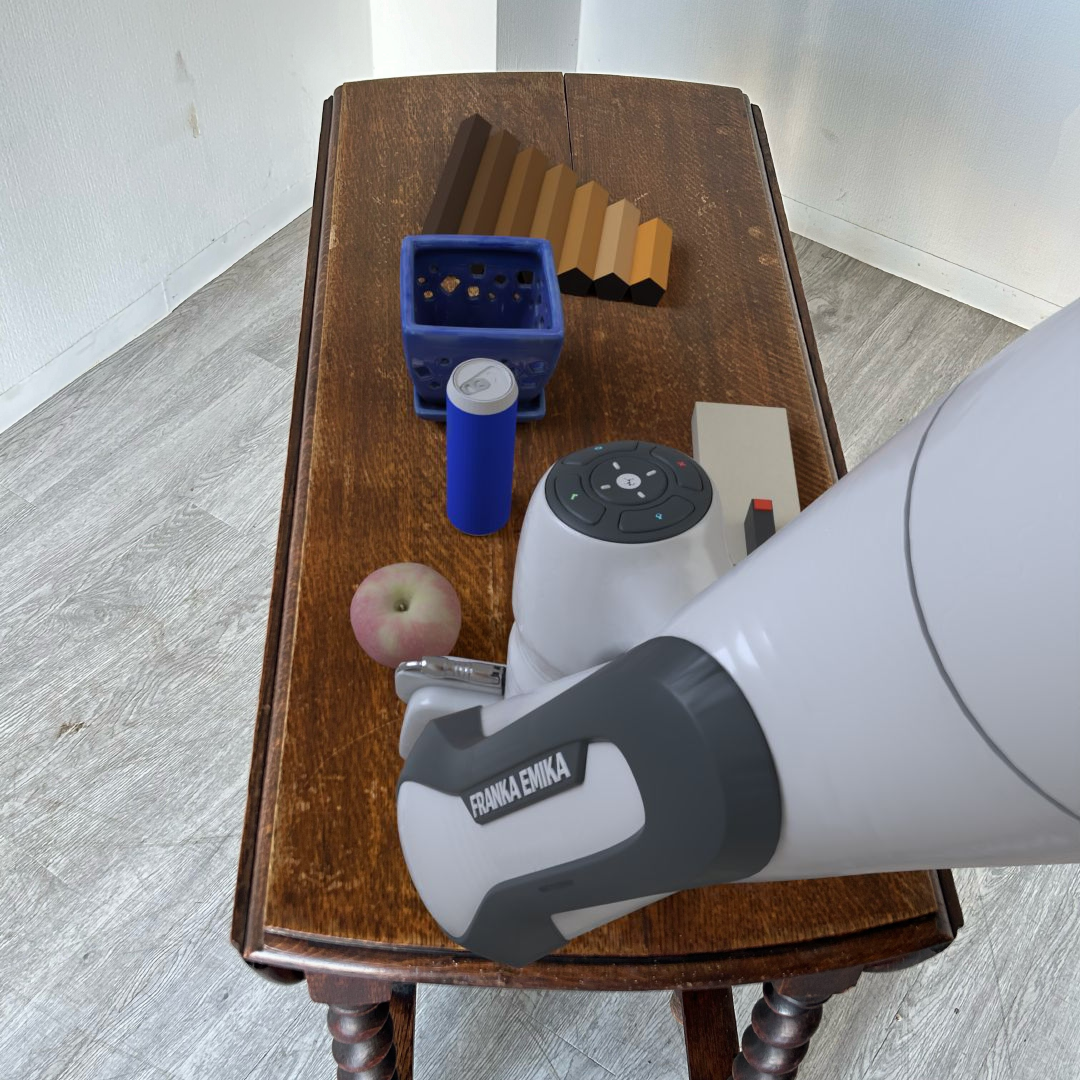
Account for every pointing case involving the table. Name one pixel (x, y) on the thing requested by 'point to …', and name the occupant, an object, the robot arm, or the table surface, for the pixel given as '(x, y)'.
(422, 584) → the apple
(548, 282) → the flower pot
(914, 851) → the robot arm
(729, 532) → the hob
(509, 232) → the pan flute
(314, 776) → the table surface
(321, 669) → the table surface
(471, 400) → the beverage can
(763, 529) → the dark grey red-tipped block
